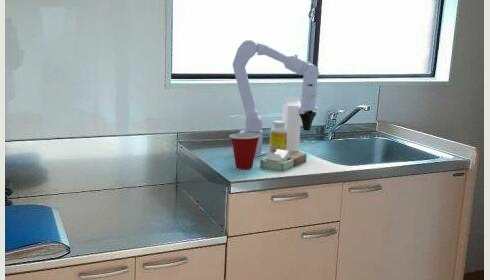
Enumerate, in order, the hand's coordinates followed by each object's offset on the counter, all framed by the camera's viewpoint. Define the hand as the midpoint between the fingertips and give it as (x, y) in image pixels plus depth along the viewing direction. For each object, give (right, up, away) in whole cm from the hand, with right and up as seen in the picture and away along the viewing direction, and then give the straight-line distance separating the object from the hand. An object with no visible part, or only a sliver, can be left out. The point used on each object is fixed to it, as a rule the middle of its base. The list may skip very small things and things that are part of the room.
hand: (306, 130), depth 210 cm
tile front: (-13, -10, -18) cm, 24 cm away
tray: (-13, -13, -17) cm, 25 cm away
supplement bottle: (-11, -9, +6) cm, 15 cm away
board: (-8, -12, -9) cm, 17 cm away
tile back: (-11, -11, -15) cm, 21 cm away
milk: (-6, -8, +12) cm, 16 cm away
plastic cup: (-25, -14, -20) cm, 34 cm away
